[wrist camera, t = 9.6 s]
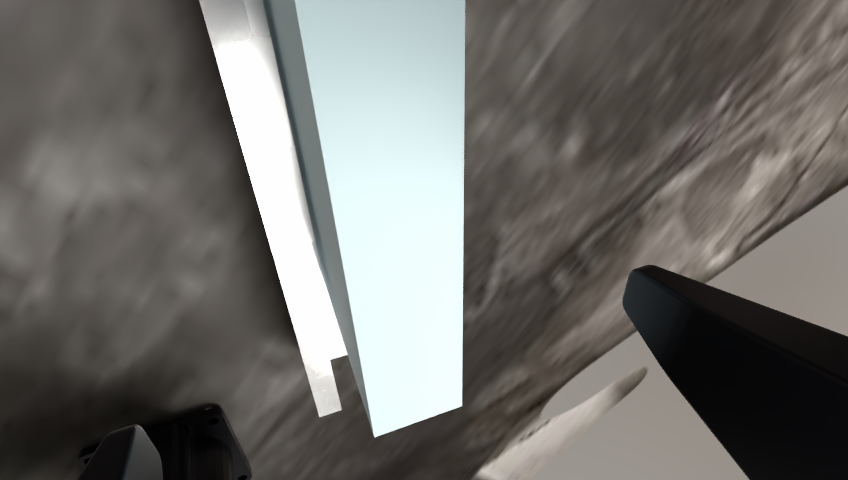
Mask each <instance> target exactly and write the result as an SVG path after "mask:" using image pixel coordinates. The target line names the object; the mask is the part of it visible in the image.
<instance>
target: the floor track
mask: <svg viewBox="0 0 848 480" xmlns="http://www.w3.org/2000/svg"><path fill="white" fill-rule="evenodd" d="M199 2H200V5H201V9H202V12H203V16H204V19H205V23H206V26H207V29H208V33H209V36H210V40H211V43H212V47H213V50H214V54H215V57H216V61H217V64H218V67H219V71H220V74H221V78H222V81H223V85H224V88H225V92H226V95H227V99H228V102H229V106H230V109H231V112H232V116H233V119H234V123H235V126H236V130H237V133H238V137H239V140H240V144H241V147H242V151H243V154H244V157H245V161H246V164H247V168H248V171H249V175H250V178H251V182H252V185H253V189H254V192H255V196H256V199H257V202H258V206H259V209H260V213H261V216H262V220H263V223H264V227H265V230H266V234H267V237H268V241H269V244H270V247H271V251H272V254H273V258H274V261H275V265H276V268H277V272H278V275H279V279H280V282H281V286H282V289H283V292H284V296H285V299H286V303H287V306H288V310H289V313H290V317H291V320H292V324H293V327H294V330H295V334H296V337H297V341H298V344H299V348H300V351H301V355H302V358H303V362H304V365H305V369H306V372H307V375H308V379H309V382H310V386H311V389H312V393H313V396H314V400H315V403H316V407H317V410H318V414H319V417H322V416H325V415H328V414H331V413H334V412H337V411H340V410H342V409H341V405H340V401H339V397H338V392H337V388H336V384H335V380H334V376H333V371H332V367H331V363H330V360H331V359H335V358H338V357H341V356H344V355H348V354H347V351H346V348H345V345H344V342H343V339H342V336H341V332H340V329H339V326H338V323H337V320H336V317H335V314H334V311H333V308H332V304H331V301H330V298H329V295H328V292H327V289H326V286H325V283H324V279H323V274H322V270H321V265H320V260H319V256H318V251H317V247H316V242H315V237H314V233H313V228H312V224H311V219H310V214H309V210H308V205H307V201H306V196H305V191H304V187H303V182H302V178H301V173H300V168H299V164H298V159H297V155H296V150H295V145H294V141H293V136H292V132H291V127H290V122H289V118H288V113H287V109H286V104H285V99H284V95H283V90H282V86H281V81H280V76H279V72H278V67H277V63H276V58H275V53H274V49H273V44H272V40H271V35H270V31H269V26H268V21H267V17H266V12H265V8H264V3H263V0H199Z"/></svg>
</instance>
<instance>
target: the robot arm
mask: <svg viewBox="0 0 848 480" xmlns="http://www.w3.org/2000/svg"><path fill="white" fill-rule="evenodd" d="M623 307H624V309H625V311H626V313H627V315H628V316H629V318H630V319H631V321H632V322H633V324H634V326H635V327H636V329H637V330H638V332H639V333H640V335H641V336H642V338H643V339H644V341H645V342H646V344H647V346H648V347H649V349H650V350H651V352H652V353H653V355H654V356H655V358H656V359H657V361H658V362H659V364H660V366H661V367H662V369H663V370H664V371H665V373H666V374H667V376H668V377H669V378H670V380H671V381H672V382H673V384H674V385H675V386H676V387H677V389H678V390H679V391H680V393H681V394H682V395H683V396H684V397H685V399H686V400H687V401H688V403H689V404H690V405H691V406H692V408H693V409H694V410H695V412H696V413H697V414H698V415H699V417H700V418H701V419H702V420H703V422H704V423H705V424H706V425H707V426H708V428H709V429H710V430H711V432H712V433H713V434H714V436H715V437H716V438H717V439H718V441H719V442H720V443H721V444H722V446H723V447H724V448H725V449H726V451H727V452H728V453H729V454H730V456H731V457H732V458H733V460H734V461H735V462H736V463H737V465H738V466H739V467H740V468H741V469H742V471H743V472H744V473H745V475H746V476H747V477H748V478H749V480H848V336H845V335H842V334H839V333H837V332H834V331H831V330H829V329H826V328H823V327H821V326H818V325H815V324H812V323H810V322H806V321H804V320H801V319H799V318H796V317H793V316H790V315H788V314H785V313H783V312H780V311H777V310H774V309H771V308H769V307H766V306H763V305H760V304H758V303H755V302H753V301H750V300H747V299H744V298H742V297H739V296H736V295H734V294H731V293H728V292H725V291H722V290H720V289H717V288H714V287H711V286H709V285H706V284H704V283H701V282H698V281H695V280H693V279H690V278H687V277H685V276H682V275H679V274H676V273H674V272H671V271H668V270H665V269H663V268H660V267H657V266H654V265H646V266H643V267H639V268H636V269H634V270H632V271H631V272H630V274H629V277H628V281H627V284H626V288H625V292H624V295H623ZM77 463H78V465H79V466H80V467H81V469H82V470H83V471H82V472H81V474H80V475H79V477H78V479H77V480H250V479H251V477H252V474H251V467H250V465H249V463H248V461H247V459H246V457H245V455H244V453H243V451H242V449H241V447H240V445H239V443H238V440H237V438H236V436H235V434H234V432H233V430H232V428H231V426H230V424H229V422H228V420H227V418H226V416H225V414H224V411H223V410H222V409H219V408H212V409H208V410H205V411H202V412H199V413H196V414H192V415H189V416H186V417H183V418H180V419H177V420H173V421H170V422H167V423H164V424H161V425H158V426H154V427H151V428H148V429H145V430H143V429H142V427H141V426H139V425H136V424H135V425H130V426H127V427H124V428H121V429H117V430H114V431H112V432H110V433H108V434H107V435H106V436H105V437H104V438H103V440H102V441H101V443H100V444H97V445H94V446H91V447H88V448H85V449H83V450H82V451H81V452H80V453H79V457H78V462H77Z"/></svg>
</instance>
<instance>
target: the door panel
mask: <svg viewBox="0 0 848 480" xmlns="http://www.w3.org/2000/svg"><path fill="white" fill-rule="evenodd" d="M263 3H264V8H265V12H266V17H267V21H268V26H269V31H270V35H271V40H272V44H273V49H274V53H275V58H276V63H277V67H278V72H279V76H280V81H281V86H282V90H283V95H284V99H285V104H286V109H287V113H288V118H289V122H290V127H291V132H292V136H293V141H294V145H295V150H296V155H297V159H298V164H299V168H300V173H301V178H302V182H303V187H304V191H305V196H306V201H307V205H308V210H309V214H310V219H311V224H312V228H313V233H314V237H315V242H316V247H317V251H318V256H319V260H320V265H321V270H322V274H323V279H324V283H325V286H326V289H327V292H328V295H329V298H330V301H331V304H332V308H333V311H334V314H335V317H336V320H337V323H338V326H339V329H340V332H341V336H342V339H343V342H344V345H345V348H346V351H347V354H348V357H349V360H350V364H351V367H352V370H353V373H354V376H355V379H356V382H357V385H358V388H359V392H360V395H361V398H362V401H363V404H364V407H365V410H366V413H367V416H368V420H369V423H370V426H371V429H372V432H373V435H374V437H377V436H380V435H382V434H385V433H388V432H391V431H394V430H396V429H399V428H402V427H405V426H408V425H410V424H413V423H416V422H419V421H421V420H424V419H427V418H430V417H433V416H435V415H438V414H441V413H444V412H447V411H449V410H452V409H455V408H458V407H460V406H462V339H463V212H464V84H465V0H263Z"/></svg>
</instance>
